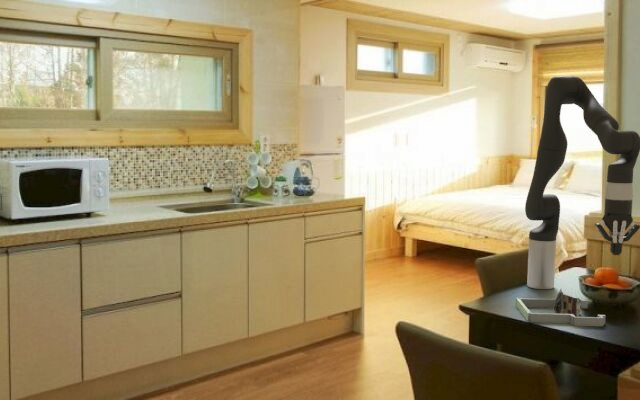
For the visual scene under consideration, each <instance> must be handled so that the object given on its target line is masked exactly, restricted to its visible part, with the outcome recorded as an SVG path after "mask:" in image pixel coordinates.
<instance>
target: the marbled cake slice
mask: <svg viewBox="0 0 640 400" xmlns="http://www.w3.org/2000/svg"><path fill="white" fill-rule="evenodd" d="M556 297H557V298H556V299H555V302H554V304H553V307H552V311H553V312H554V313H555V314H573V315H574V316H575V317H582V316H581V311H582V310H581V308H580V305H581V303H580V302H579V300H578V299H577V298H578V297H573V296H570V295H567V294H564V292H563V290H562V289H560V290H559V292H558V293H557V295H556Z"/></svg>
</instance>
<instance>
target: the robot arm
mask: <svg viewBox="0 0 640 400" xmlns="http://www.w3.org/2000/svg"><path fill="white" fill-rule="evenodd" d="M545 90H546V91H545V101H544V111H543V119H542V120H543V121H542V127H541V132H540V138H539V142H538V147H537V152H536V159H535V165H534V170H533V175H532V178H531V183H530V186H529V189H528V193H527V196H526V200H525V208H524V210H525V216H526V218H527V219H529V220H530V221H542V222H541V224H540V225H538V226H537V227H535V228H532V229H530V231H529V234H528V235H529V236H528V256H527V277H526V278H527V279H526V280H527V282H526V285H527V287H528V288H531V289H537V290H552V289H554V288H555V278H556V277H555V276H556V275H555V274H556V272H555V271H556V256H557V255H556V253H557V252H556V251H557V235H558V233H559V226H560V225H559V224H560V214H561V203H560V199H559V198H558V195H556V194H553V193H552V194H550V193H548V194H545V193H544V192H545V190H546V187H547V185H548V184H549V182H550V180H552V178H553V177H554V176H555V175H556V174H557V172H558V171H559V170H560V169H561V167H562V166H563V164H564V162H565V160H566V154H567V151H568V139H567V135H566V133H565V131H564V129H563V125H562V122H561V110H562V105H573V104H574V105H576V106H578V107H579V108H581V109H582V112H583V115H582V116H583V117H582V118H583V120H584V123H585V125H586V126H587V127H588V128H589V129H590V130H591V131H592V132H593V133H594V134H595V135H596V136H597V139H598V141H599V142H600V146H601V147H602V149H603V150H604V151H605V152H606V153H608V154H610V155H619V158H618V160H616V161H614V162H612V163H611V162H610V164H609V165H608V166H607V174H606V186H605V192H604V193H605V194H604V195H605V196H604V215H602V219H601V220H600V222H597V223H594V227H595V228H596V229H597V231H598V232H599V234H600V235H601V236H602V237H603V239H604V240H606V241H607V242H610V249H609V251H610V253H611V254H612V255H613V256H620V254H622V252H623V243H624V242H629V240H631V238H632V237H633V236H634V235H635V234H636V233H637V232H638V230H640V225H639V224H637V223H636V222H634V219H633V216H632V214H633V200H634V199H633V198H634V187H633V184H634V183H633V182H634V169H635V165H636V164H637V161H638V158H639V157H638V156H639V154H640V135H639V133H638V132H637V131H635V130H619V128H620V125H619V122H618V120H616V118H614V117H613V116H612V115H611V114H610V113H609V112H608V111H607V110H606V109H605V108H604V107H603V106H602V105H601V104H600V103H599V101H598V100H597V98H596V97H595V96H594V94H593V93H592V91H591V90H590V89H589V87H588V85H587V84H586V83H585V82H584V80H583V79H582V78H581V77H578V76H576V75H557V76H553V77H552V78H550V80H549V81H548V84H547V87H546V89H545ZM605 227H606V228H607V230H608V231H609V232H607V231H606V230H605ZM628 228H629V229H628ZM626 230H627V231H626ZM608 233H609V234H608Z"/></svg>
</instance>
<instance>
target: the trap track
mask: <svg viewBox="0 0 640 400" xmlns="http://www.w3.org/2000/svg"><path fill="white" fill-rule="evenodd" d="M556 298H557V296H556V297H555V296H554V297H552V298H531V297H529V298H528V297H526V298H525V297H524V298H523V297H522V298H521V297H516V298H515V307H516V308H517V310H518V311H519V312H520V314H521V315H522V316H523V317H524V319H526V321H527V323H549V324H550V323H551V324H552V323H554V324H555V323H556V324H570V325H571V326H578V327H604V326H605V324H606V314H597V316H596V317H595V316H578V317H575V316H574V315H573V314H556V313H555V312H554V313H551V312H549V313H548V312H531V310H529V309H528V307H529V308H553V304H554V302H555V299H556ZM576 298H577V299H578V300H579V302H580V303H581V305H580V309H588V304H589V301H588V300H587V299H583V297H581V298H580V297H576Z"/></svg>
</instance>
